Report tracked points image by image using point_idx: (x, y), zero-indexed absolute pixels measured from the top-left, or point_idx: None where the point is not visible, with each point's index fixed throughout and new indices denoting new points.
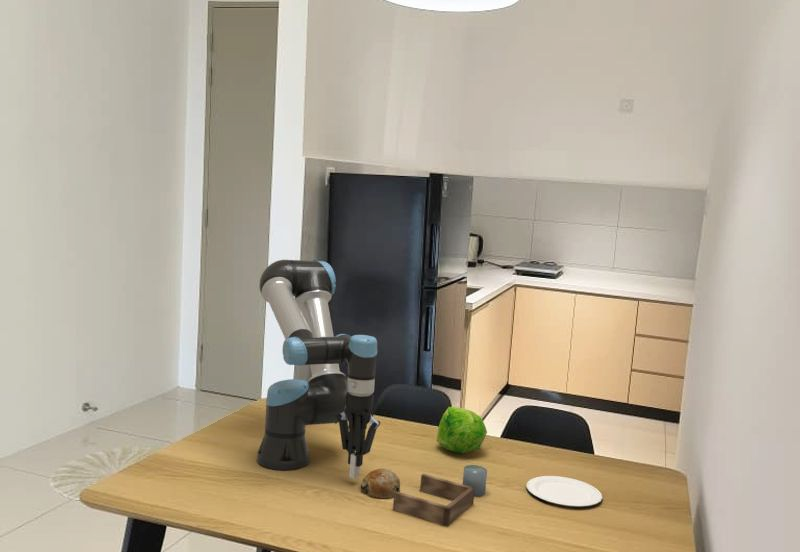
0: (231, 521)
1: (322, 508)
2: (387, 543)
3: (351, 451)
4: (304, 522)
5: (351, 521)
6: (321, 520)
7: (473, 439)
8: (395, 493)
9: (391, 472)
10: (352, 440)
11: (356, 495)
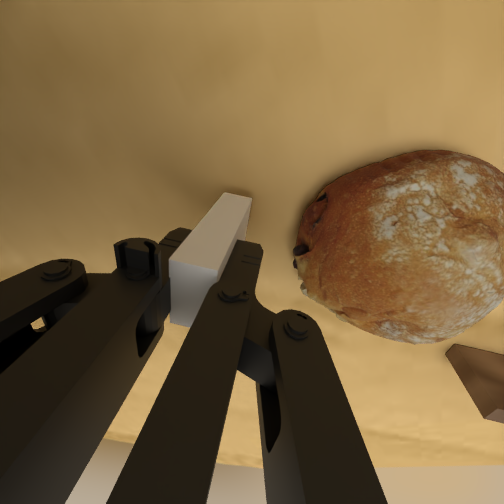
0: (136, 434)
1: (239, 382)
2: (430, 462)
3: (160, 337)
4: (238, 426)
5: None
6: None
7: None
8: (489, 419)
9: (498, 282)
10: (92, 450)
11: (294, 299)
